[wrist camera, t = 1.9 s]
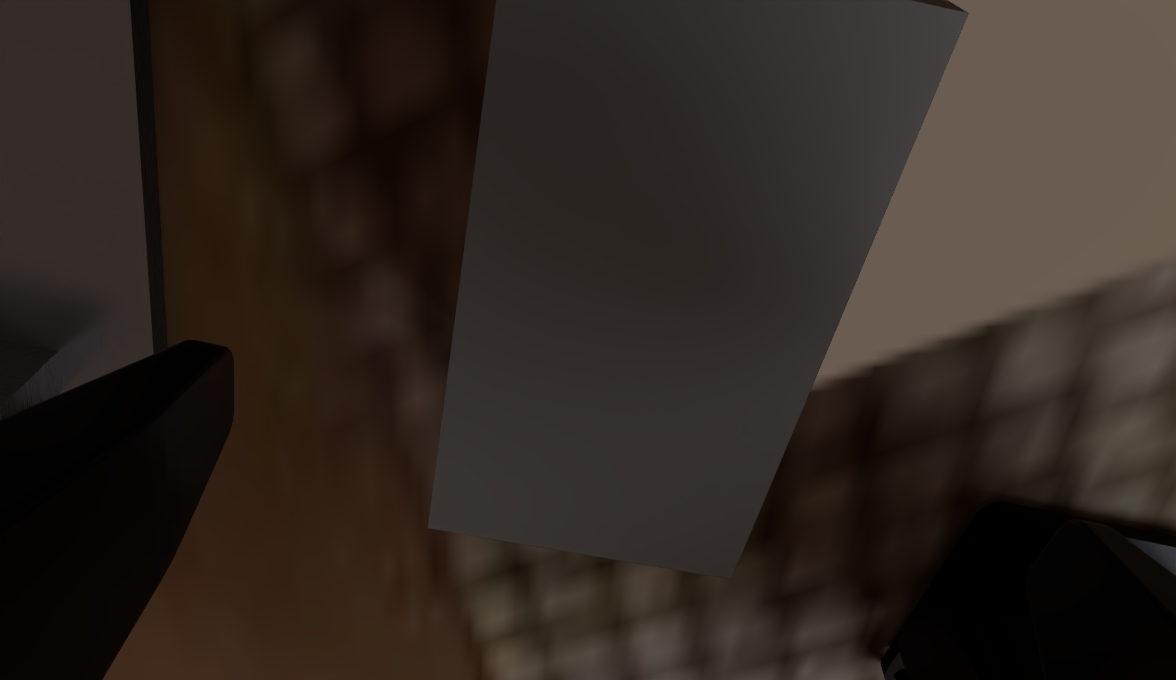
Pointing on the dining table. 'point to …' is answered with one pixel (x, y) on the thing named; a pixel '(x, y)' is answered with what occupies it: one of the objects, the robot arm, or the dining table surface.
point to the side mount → (76, 196)
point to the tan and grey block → (665, 258)
